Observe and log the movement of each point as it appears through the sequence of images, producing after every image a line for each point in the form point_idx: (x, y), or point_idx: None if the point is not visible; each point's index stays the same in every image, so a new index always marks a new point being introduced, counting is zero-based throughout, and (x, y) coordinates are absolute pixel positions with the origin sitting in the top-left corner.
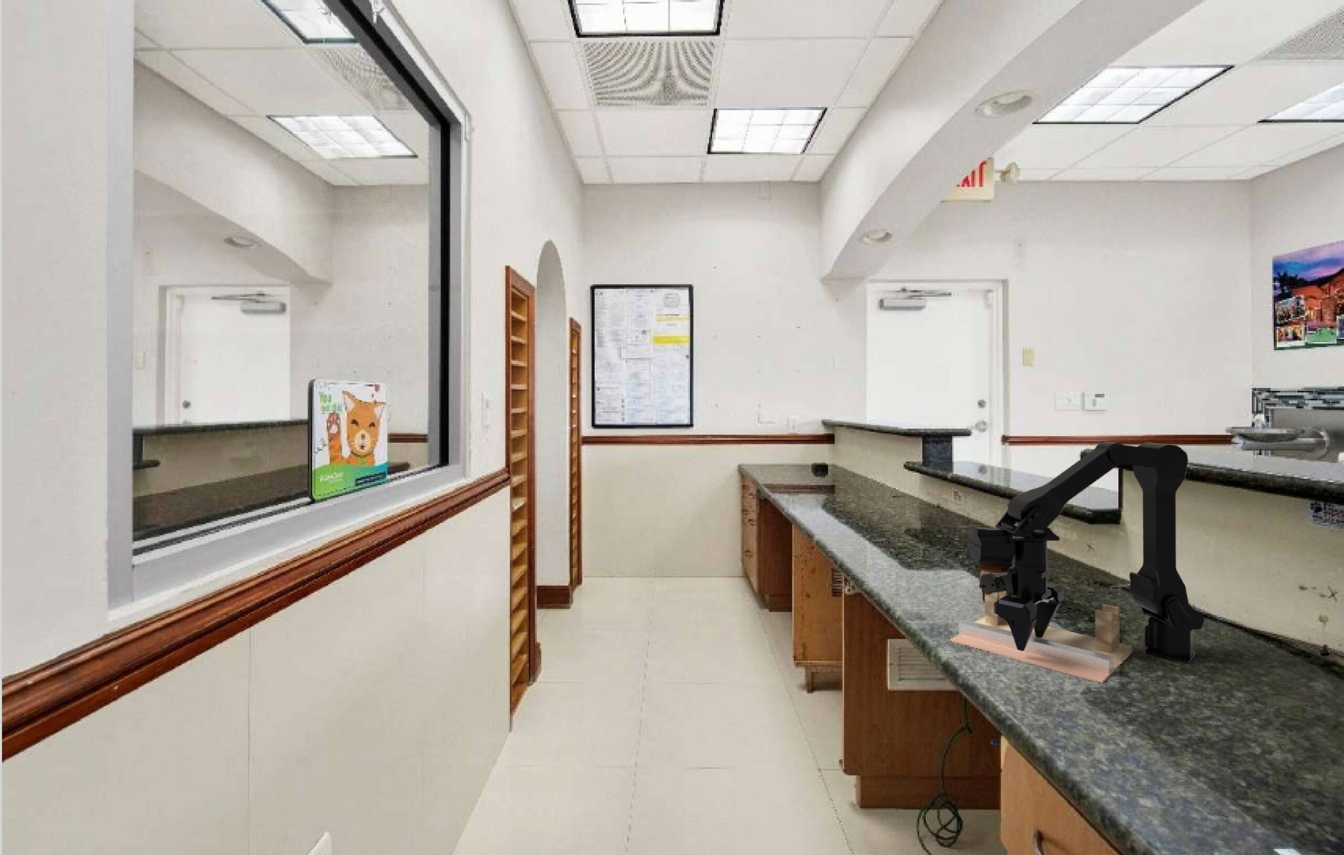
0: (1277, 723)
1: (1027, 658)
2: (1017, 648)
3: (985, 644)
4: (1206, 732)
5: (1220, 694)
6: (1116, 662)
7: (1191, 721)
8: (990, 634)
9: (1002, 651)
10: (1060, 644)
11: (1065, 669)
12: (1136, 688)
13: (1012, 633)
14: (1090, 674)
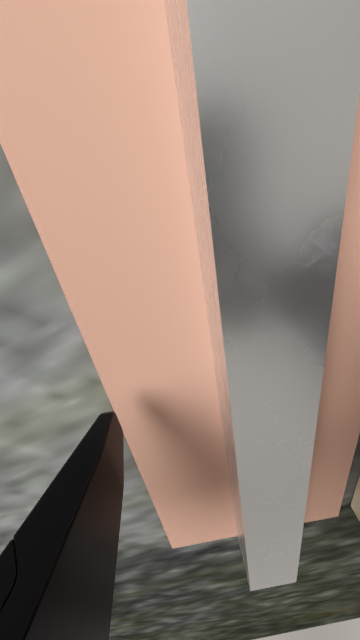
0: (242, 626)
1: (139, 404)
2: (98, 420)
3: (110, 138)
4: (120, 629)
5: (303, 590)
6: (354, 503)
7: (141, 617)
8: (192, 135)
9: (104, 298)
10: (297, 502)
11: (164, 496)
12: (211, 561)
13: (13, 541)
14: (191, 527)
